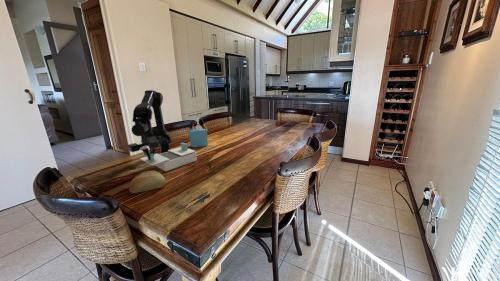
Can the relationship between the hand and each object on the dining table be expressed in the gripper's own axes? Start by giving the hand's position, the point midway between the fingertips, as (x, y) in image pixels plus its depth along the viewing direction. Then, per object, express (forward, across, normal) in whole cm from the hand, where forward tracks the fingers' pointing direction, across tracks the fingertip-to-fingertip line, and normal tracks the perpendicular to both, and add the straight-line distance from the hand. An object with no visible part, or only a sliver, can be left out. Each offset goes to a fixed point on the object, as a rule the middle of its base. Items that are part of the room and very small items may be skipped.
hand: (150, 159), depth 111 cm
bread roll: (+6, -11, -19) cm, 23 cm away
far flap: (+1, +19, 0) cm, 19 cm away
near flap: (+1, +2, 0) cm, 2 cm away
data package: (+7, +41, +15) cm, 45 cm away
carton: (+6, +13, 0) cm, 15 cm away
